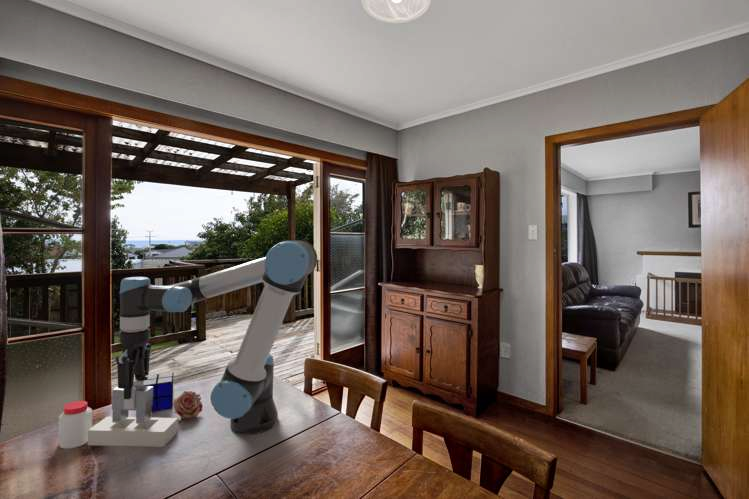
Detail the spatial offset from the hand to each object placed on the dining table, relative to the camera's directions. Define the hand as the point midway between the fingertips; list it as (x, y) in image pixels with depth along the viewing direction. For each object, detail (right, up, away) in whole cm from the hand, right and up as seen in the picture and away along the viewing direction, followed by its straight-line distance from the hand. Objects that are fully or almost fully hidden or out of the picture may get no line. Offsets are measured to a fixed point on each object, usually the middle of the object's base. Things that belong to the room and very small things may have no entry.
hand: (133, 404), depth 111 cm
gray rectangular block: (-1, -5, 0) cm, 5 cm away
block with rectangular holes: (0, -11, +1) cm, 10 cm away
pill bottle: (-16, -10, -2) cm, 19 cm away
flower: (+10, -10, +14) cm, 20 cm away
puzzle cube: (-6, -10, +21) cm, 24 cm away
